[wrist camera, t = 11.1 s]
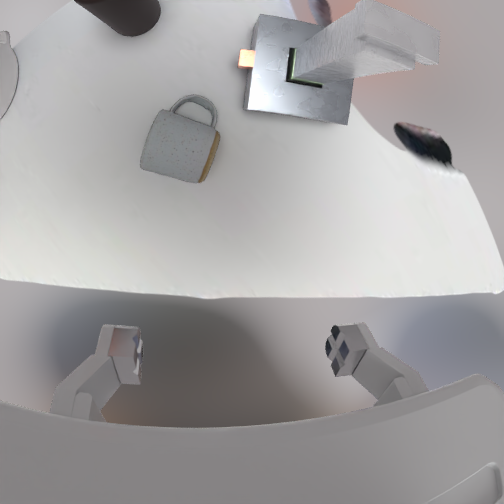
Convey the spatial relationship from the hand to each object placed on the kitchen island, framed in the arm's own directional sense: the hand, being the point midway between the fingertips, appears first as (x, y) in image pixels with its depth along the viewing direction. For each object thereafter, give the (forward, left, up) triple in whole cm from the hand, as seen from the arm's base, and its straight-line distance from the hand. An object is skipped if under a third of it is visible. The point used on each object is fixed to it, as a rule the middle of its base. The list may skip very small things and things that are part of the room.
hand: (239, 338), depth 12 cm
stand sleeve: (+3, +17, -31) cm, 36 cm away
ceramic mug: (-7, +4, -32) cm, 33 cm away
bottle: (-20, +18, -32) cm, 41 cm away
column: (+3, +17, -27) cm, 32 cm away
